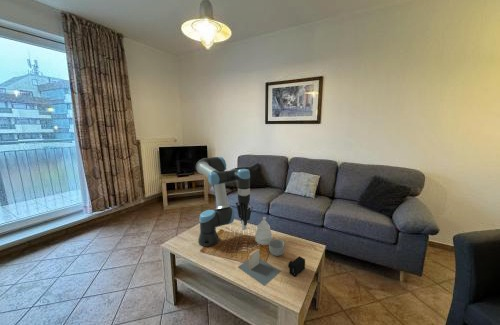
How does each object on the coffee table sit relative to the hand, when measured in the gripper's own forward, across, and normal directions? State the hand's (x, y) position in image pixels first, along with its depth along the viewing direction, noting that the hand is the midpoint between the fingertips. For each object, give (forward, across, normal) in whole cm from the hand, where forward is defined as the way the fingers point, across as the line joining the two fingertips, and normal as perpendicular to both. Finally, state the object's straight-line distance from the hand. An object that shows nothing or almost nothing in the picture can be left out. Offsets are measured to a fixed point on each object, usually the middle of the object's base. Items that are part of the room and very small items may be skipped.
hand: (244, 229), depth 133 cm
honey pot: (+23, -6, +27) cm, 36 cm away
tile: (+22, +9, 0) cm, 24 cm away
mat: (+22, +13, 0) cm, 26 cm away
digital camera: (+23, +30, +15) cm, 40 cm away
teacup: (+23, +10, +22) cm, 33 cm away
